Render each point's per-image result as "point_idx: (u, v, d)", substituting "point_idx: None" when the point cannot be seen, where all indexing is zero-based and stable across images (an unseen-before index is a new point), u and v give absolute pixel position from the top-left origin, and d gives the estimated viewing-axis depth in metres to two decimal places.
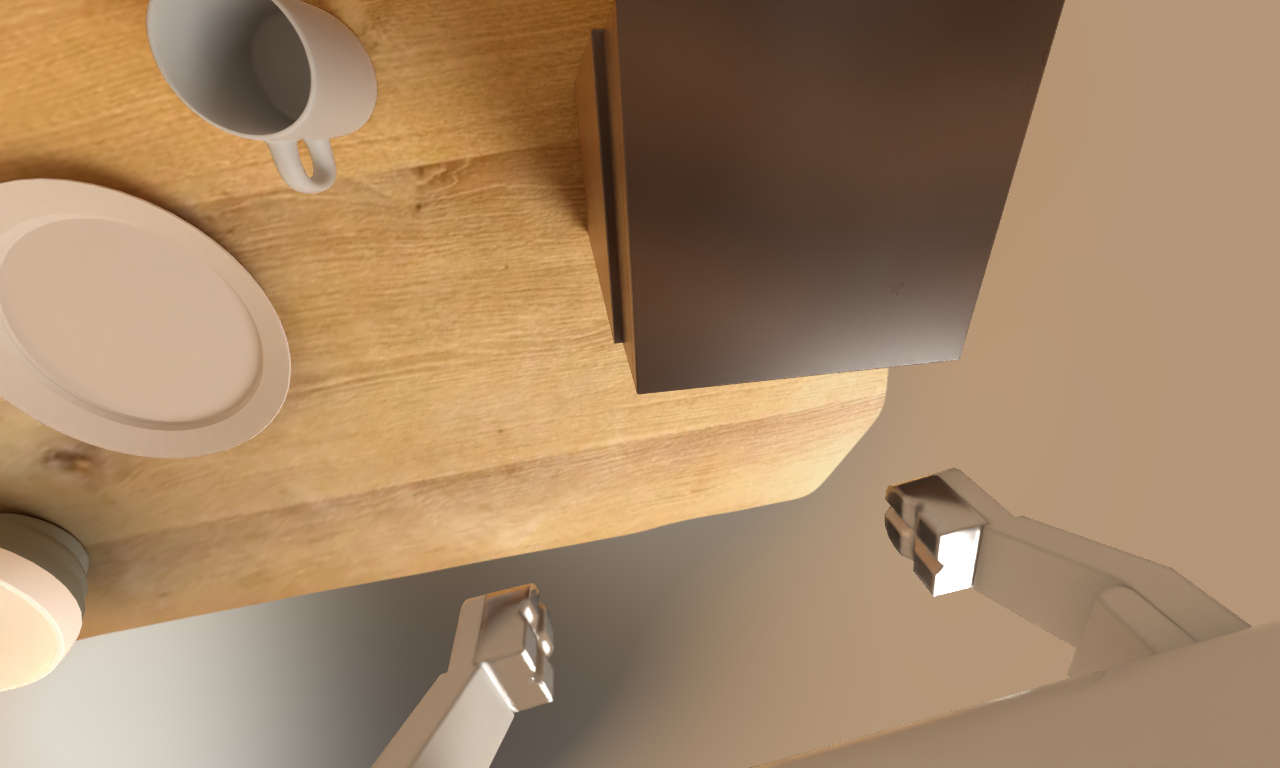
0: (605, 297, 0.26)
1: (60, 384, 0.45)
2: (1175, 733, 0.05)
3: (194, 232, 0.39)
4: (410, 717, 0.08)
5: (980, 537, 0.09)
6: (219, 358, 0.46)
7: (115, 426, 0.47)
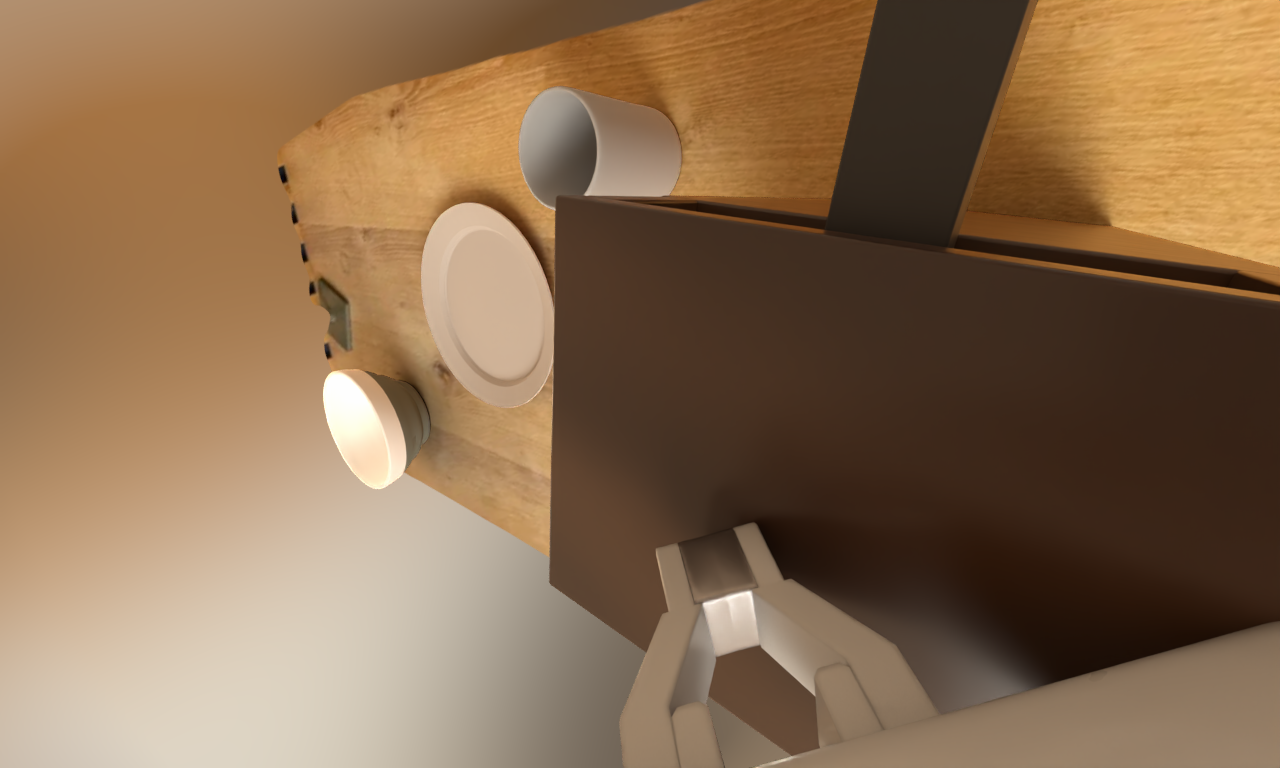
0: None
1: (452, 325, 0.69)
2: (1175, 733, 0.05)
3: (533, 257, 0.53)
4: (648, 652, 0.08)
5: (751, 599, 0.09)
6: (521, 344, 0.61)
7: (462, 362, 0.69)
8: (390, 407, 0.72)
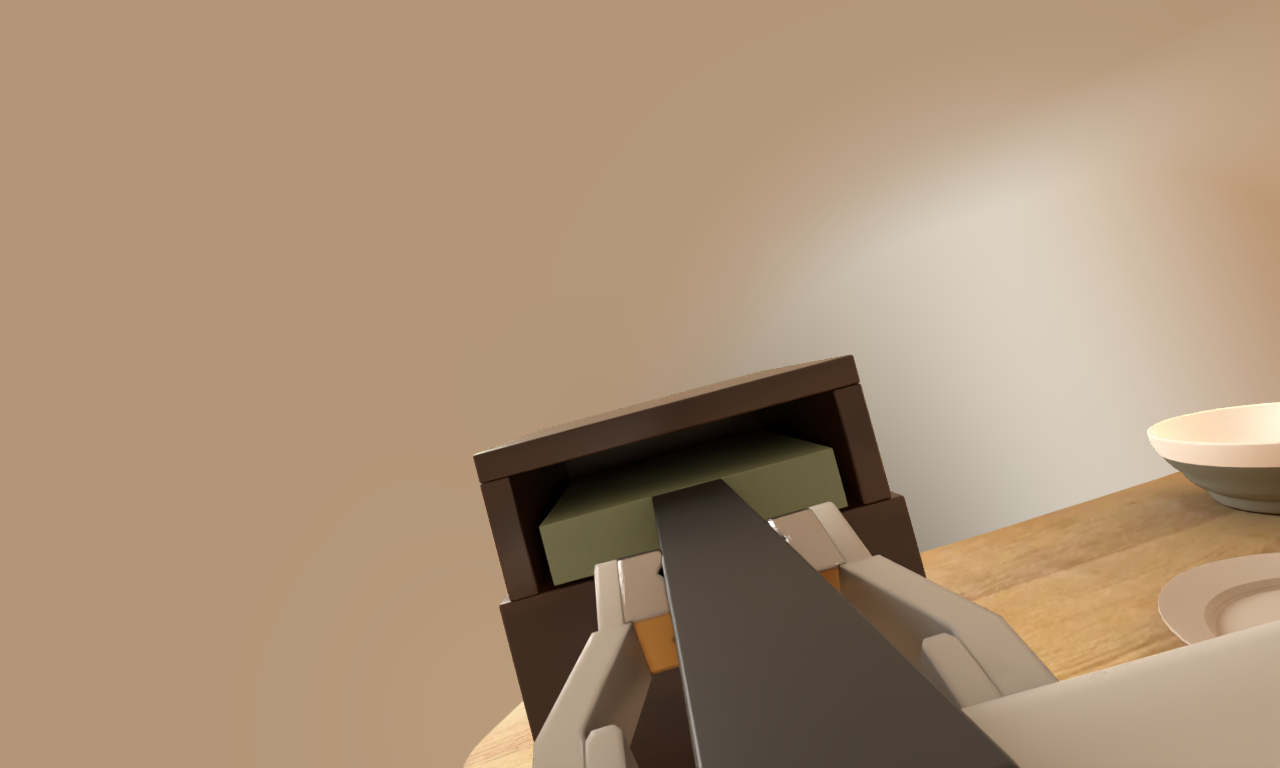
0: None
1: None
2: (1175, 733, 0.05)
3: None
4: (573, 673, 0.08)
5: (838, 576, 0.09)
6: None
7: None
8: (1278, 463, 0.52)
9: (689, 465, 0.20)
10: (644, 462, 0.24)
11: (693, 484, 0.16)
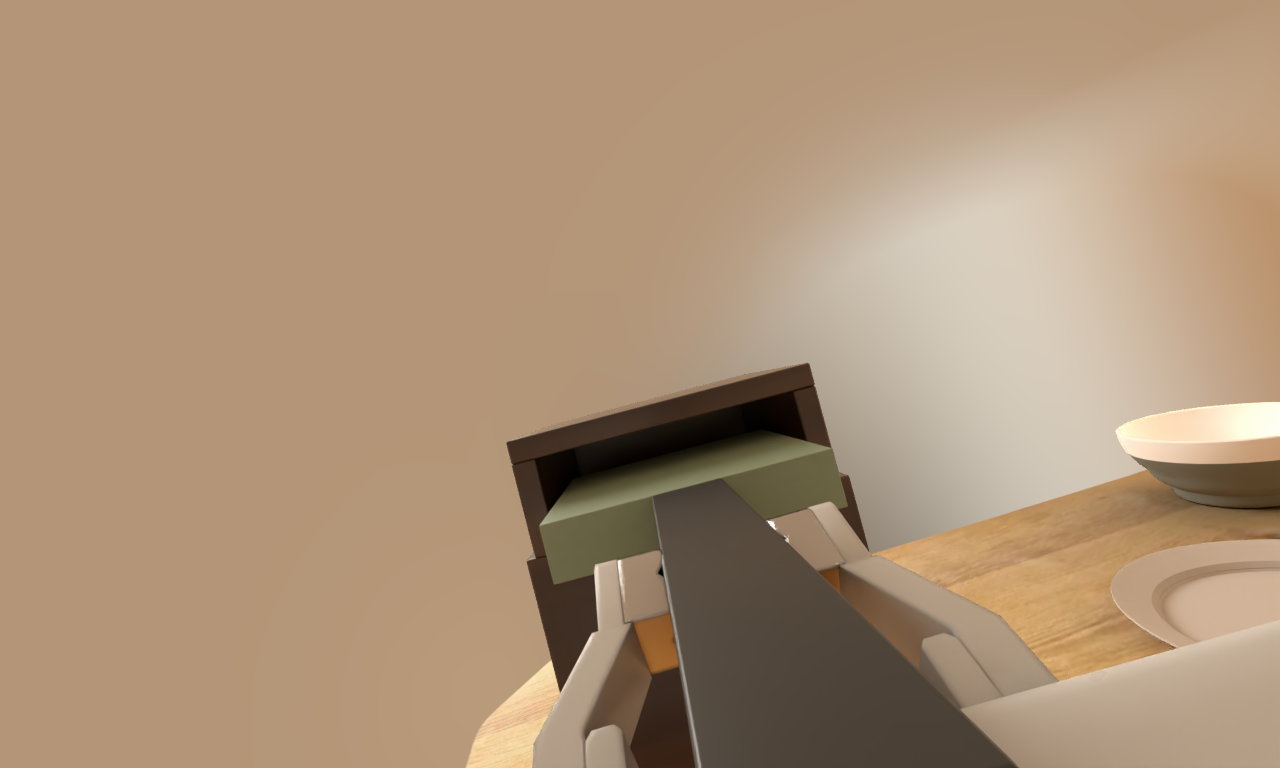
0: None
1: None
2: (1175, 733, 0.05)
3: None
4: (572, 673, 0.08)
5: (838, 576, 0.09)
6: (1222, 623, 0.41)
7: (1261, 558, 0.47)
8: (1230, 460, 0.56)
9: (689, 465, 0.20)
10: (644, 461, 0.24)
11: (693, 484, 0.16)
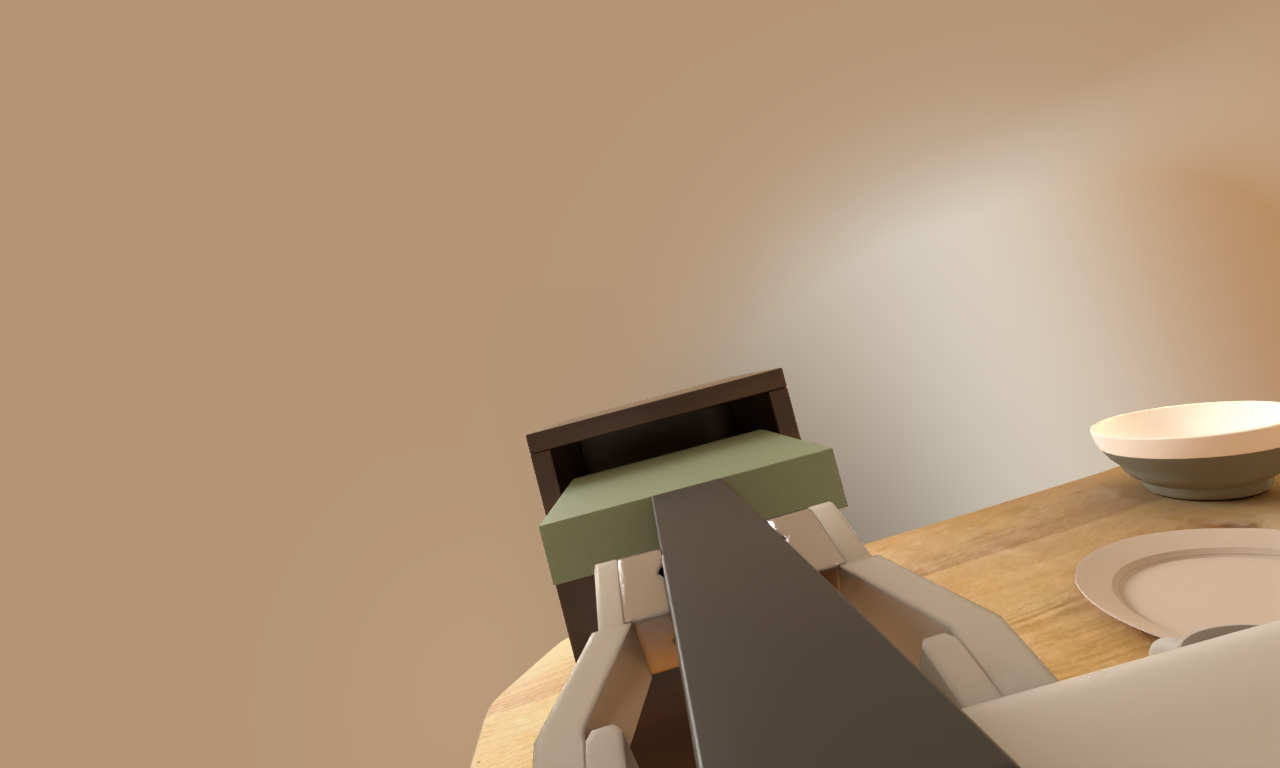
0: None
1: None
2: (1175, 733, 0.05)
3: None
4: (573, 673, 0.08)
5: (838, 576, 0.09)
6: (1173, 603, 0.45)
7: (1214, 545, 0.51)
8: (1191, 455, 0.60)
9: (689, 465, 0.20)
10: (644, 462, 0.24)
11: (693, 484, 0.16)
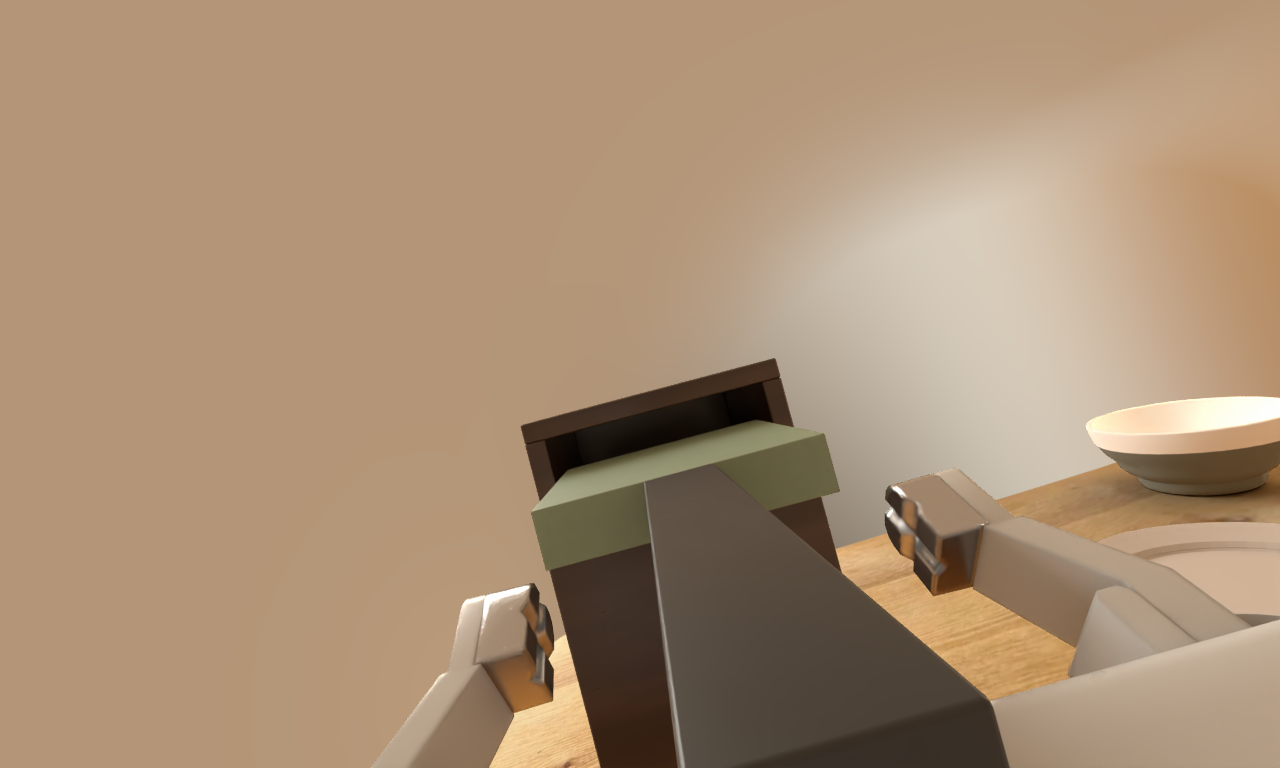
0: None
1: None
2: (1175, 733, 0.05)
3: None
4: (410, 717, 0.08)
5: (980, 537, 0.09)
6: None
7: (1208, 539, 0.51)
8: (1186, 450, 0.60)
9: (682, 453, 0.20)
10: (638, 452, 0.24)
11: (685, 469, 0.16)
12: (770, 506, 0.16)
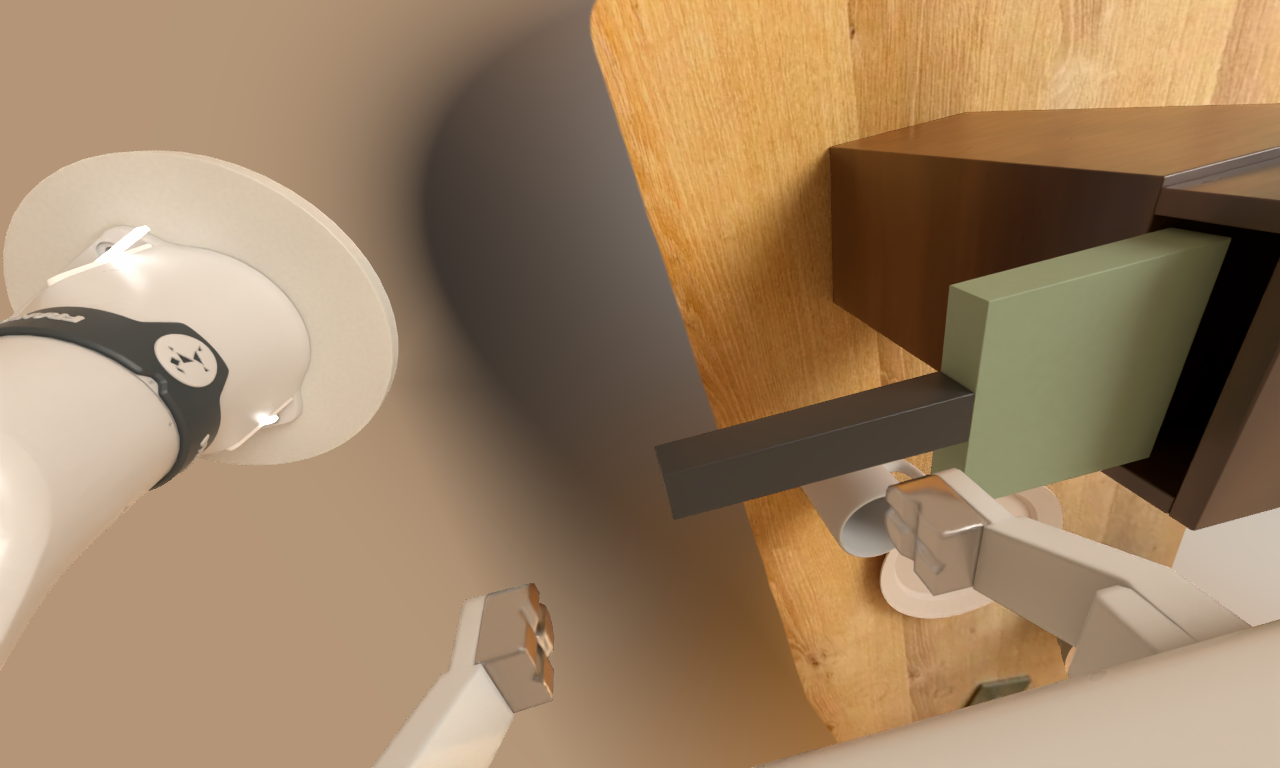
0: None
1: None
2: (1175, 733, 0.05)
3: None
4: (410, 717, 0.08)
5: (980, 537, 0.09)
6: None
7: None
8: None
9: (1061, 405, 0.20)
10: (1176, 338, 0.19)
11: (973, 422, 0.20)
12: None
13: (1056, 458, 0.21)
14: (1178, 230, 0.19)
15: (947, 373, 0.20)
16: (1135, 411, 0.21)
